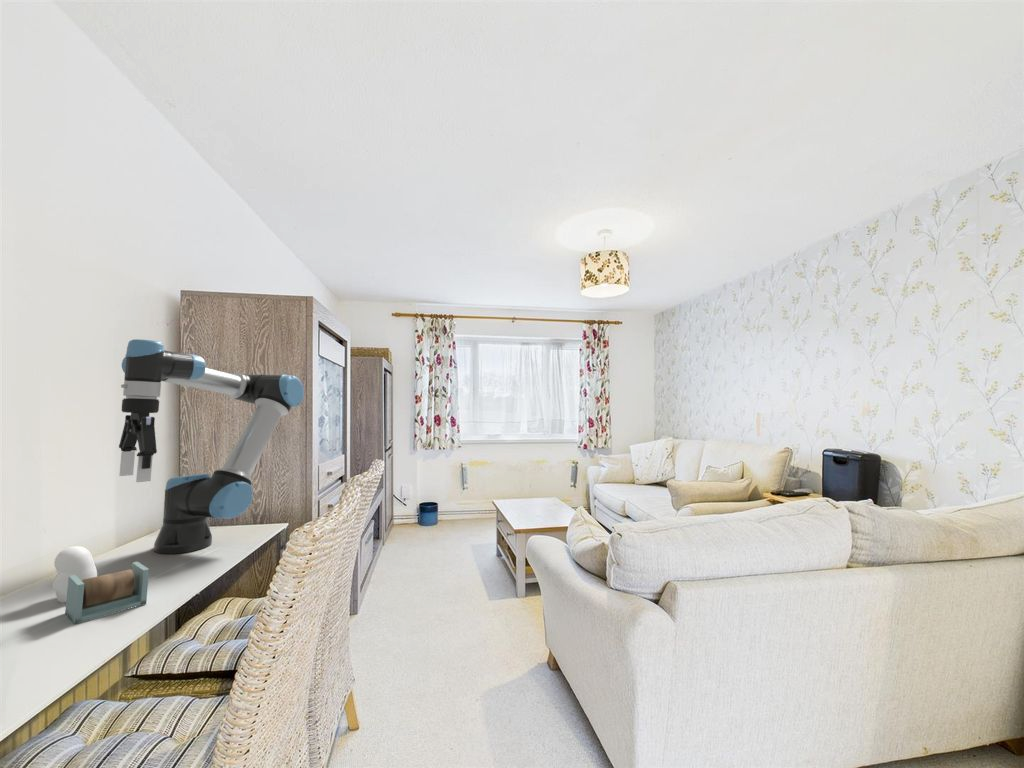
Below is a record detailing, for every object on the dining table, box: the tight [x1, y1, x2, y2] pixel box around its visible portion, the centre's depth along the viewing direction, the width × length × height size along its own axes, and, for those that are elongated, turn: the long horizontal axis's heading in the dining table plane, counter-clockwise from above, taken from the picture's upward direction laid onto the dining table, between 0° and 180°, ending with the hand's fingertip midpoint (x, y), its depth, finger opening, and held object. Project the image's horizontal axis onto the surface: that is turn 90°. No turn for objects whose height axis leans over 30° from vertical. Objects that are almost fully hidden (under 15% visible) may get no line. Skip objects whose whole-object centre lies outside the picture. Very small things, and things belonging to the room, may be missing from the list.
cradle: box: [64, 561, 150, 625], centre depth 99 cm, size 12×8×8 cm, turn 146°
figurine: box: [52, 546, 98, 603], centre depth 104 cm, size 7×8×12 cm
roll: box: [82, 568, 134, 608], centre depth 99 cm, size 8×6×6 cm
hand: (134, 478), depth 114 cm, fingers open, 13 cm apart
